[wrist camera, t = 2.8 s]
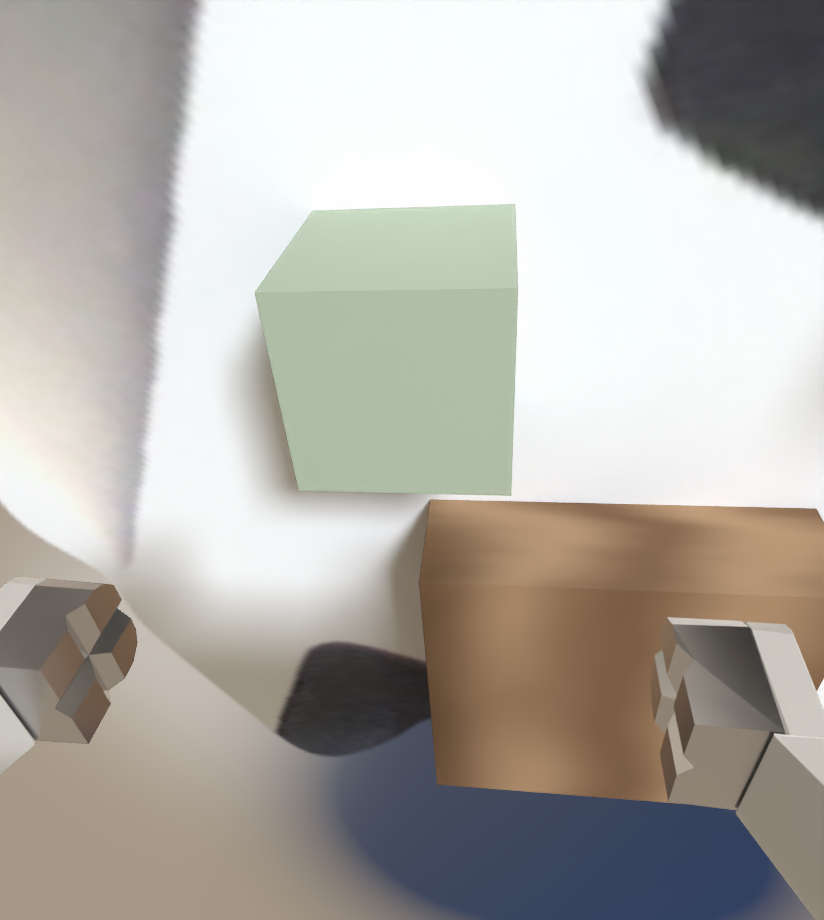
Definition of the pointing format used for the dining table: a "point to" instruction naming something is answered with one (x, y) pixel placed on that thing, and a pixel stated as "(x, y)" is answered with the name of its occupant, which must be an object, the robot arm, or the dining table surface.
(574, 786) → the walnut block
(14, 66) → the dining table surface
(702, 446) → the dining table surface
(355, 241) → the green cube
